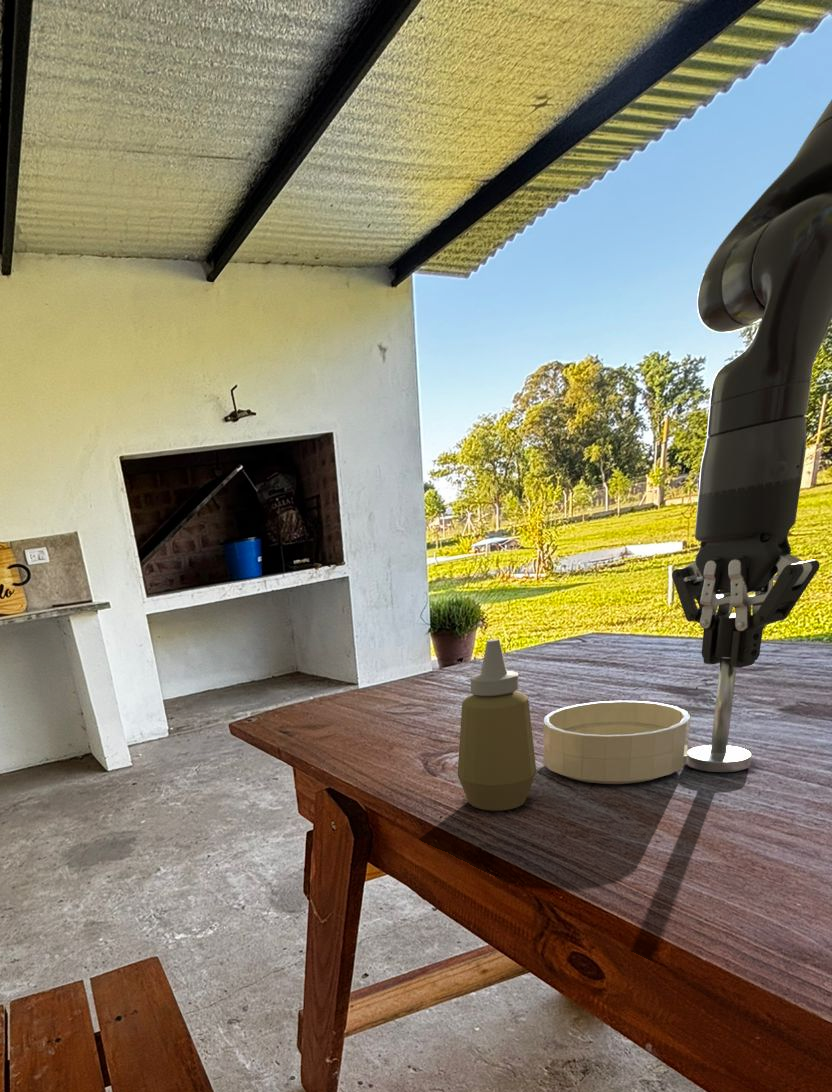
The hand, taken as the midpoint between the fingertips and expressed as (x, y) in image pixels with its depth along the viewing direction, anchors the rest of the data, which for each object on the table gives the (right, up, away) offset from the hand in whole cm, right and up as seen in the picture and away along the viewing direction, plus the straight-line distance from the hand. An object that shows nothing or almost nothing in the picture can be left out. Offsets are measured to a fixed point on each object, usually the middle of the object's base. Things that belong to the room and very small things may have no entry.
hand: (728, 663), depth 64 cm
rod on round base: (+2, -10, +4) cm, 11 cm away
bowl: (-7, -10, +9) cm, 15 cm away
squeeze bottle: (-22, -15, +5) cm, 27 cm away
